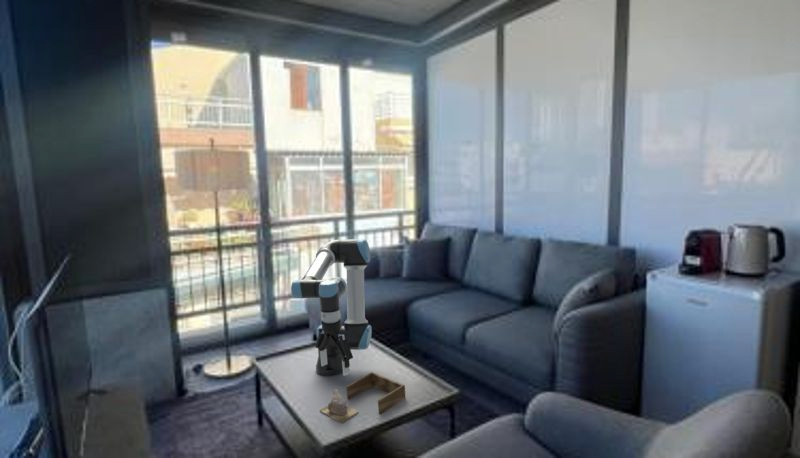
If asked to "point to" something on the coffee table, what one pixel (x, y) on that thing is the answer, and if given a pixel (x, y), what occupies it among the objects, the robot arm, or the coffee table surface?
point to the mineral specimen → (337, 404)
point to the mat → (340, 418)
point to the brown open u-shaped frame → (392, 387)
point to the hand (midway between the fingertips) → (335, 369)
